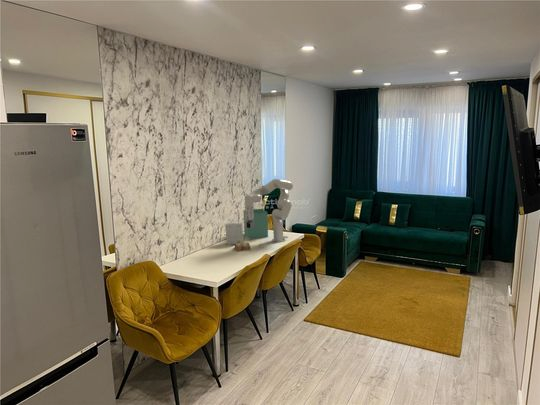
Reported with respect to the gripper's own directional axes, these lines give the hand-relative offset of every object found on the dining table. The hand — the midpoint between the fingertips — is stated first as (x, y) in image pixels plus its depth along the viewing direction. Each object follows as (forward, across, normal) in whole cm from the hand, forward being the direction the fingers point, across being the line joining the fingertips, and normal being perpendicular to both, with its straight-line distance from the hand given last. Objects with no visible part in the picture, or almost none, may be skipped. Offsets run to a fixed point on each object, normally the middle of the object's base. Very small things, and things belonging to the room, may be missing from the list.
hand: (249, 226), depth 360 cm
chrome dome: (+19, +3, -10) cm, 22 cm away
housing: (+1, 0, 0) cm, 1 cm away
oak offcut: (+19, +2, +4) cm, 20 cm away
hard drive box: (+20, +8, +19) cm, 29 cm away
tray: (+19, -8, +4) cm, 21 cm away
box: (+19, +42, +10) cm, 47 cm away
